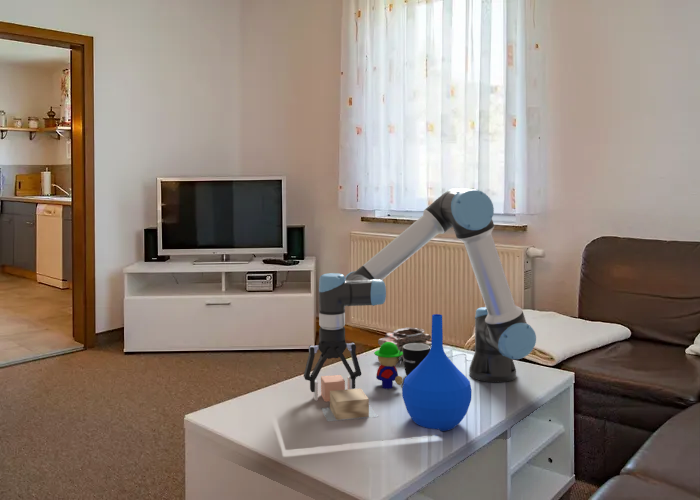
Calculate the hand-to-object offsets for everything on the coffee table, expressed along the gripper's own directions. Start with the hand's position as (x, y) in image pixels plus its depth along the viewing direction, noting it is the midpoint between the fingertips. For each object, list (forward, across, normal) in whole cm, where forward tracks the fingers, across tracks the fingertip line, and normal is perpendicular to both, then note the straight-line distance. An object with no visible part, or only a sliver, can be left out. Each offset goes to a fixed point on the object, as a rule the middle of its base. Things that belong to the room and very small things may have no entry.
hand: (332, 400), depth 192 cm
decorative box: (0, -35, -37) cm, 51 cm away
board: (0, -2, +13) cm, 13 cm away
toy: (0, -19, -6) cm, 20 cm away
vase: (0, -24, +24) cm, 34 cm away
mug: (0, -32, -15) cm, 35 cm away
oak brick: (-1, -2, +13) cm, 13 cm away
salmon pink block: (0, 0, 0) cm, 0 cm away
